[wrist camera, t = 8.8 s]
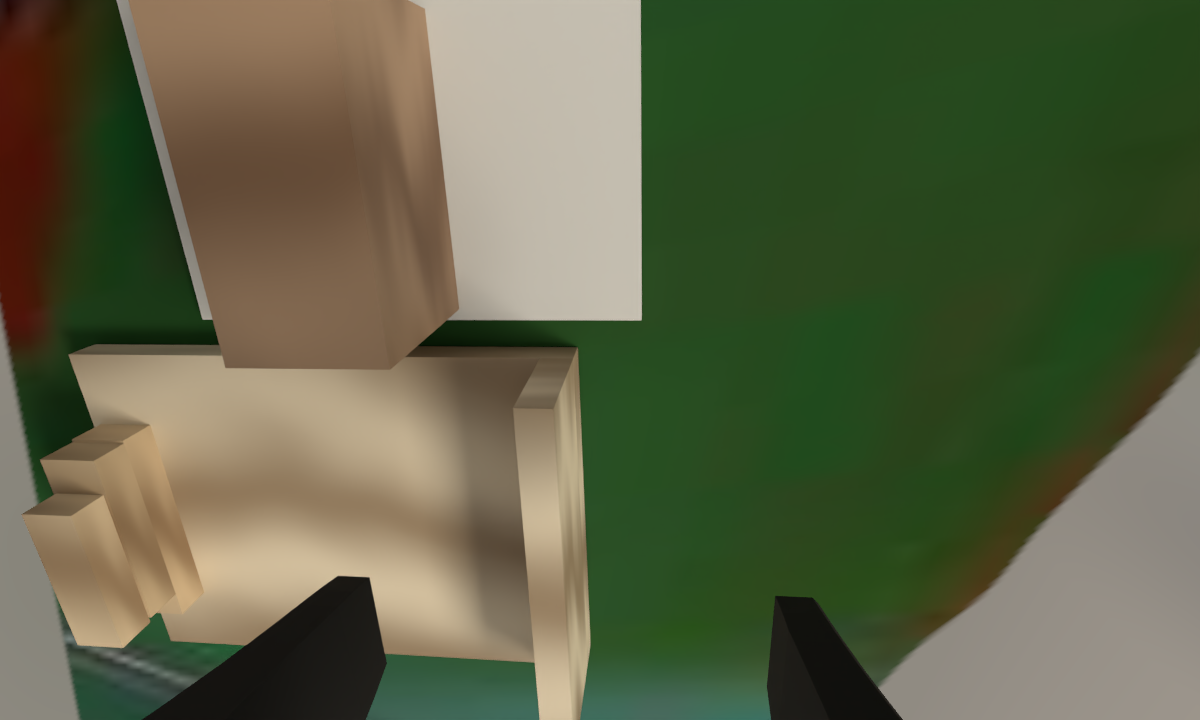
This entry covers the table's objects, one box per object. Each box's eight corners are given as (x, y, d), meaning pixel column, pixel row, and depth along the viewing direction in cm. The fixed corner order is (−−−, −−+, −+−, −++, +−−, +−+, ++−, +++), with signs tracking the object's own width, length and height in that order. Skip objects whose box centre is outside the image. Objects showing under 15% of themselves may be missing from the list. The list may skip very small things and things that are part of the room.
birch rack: (590, 643, 23) (574, 757, 19) (189, 621, 25) (92, 721, 21) (577, 347, 19) (553, 409, 15) (95, 344, 20) (-51, 399, 16)
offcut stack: (204, 592, 23) (132, 664, 20) (160, 590, 23) (82, 661, 20) (150, 425, 20) (58, 477, 17) (101, 423, 20) (1, 476, 17)
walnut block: (459, 309, 18) (390, 369, 14) (334, 309, 19) (225, 368, 14) (424, 8, 16) (322, -44, 11) (278, 16, 16) (119, -31, 11)
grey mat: (641, 316, 18) (641, 320, 18) (211, 315, 20) (202, 319, 19) (640, -77, 15) (639, -83, 14) (116, -44, 16) (103, -48, 16)
